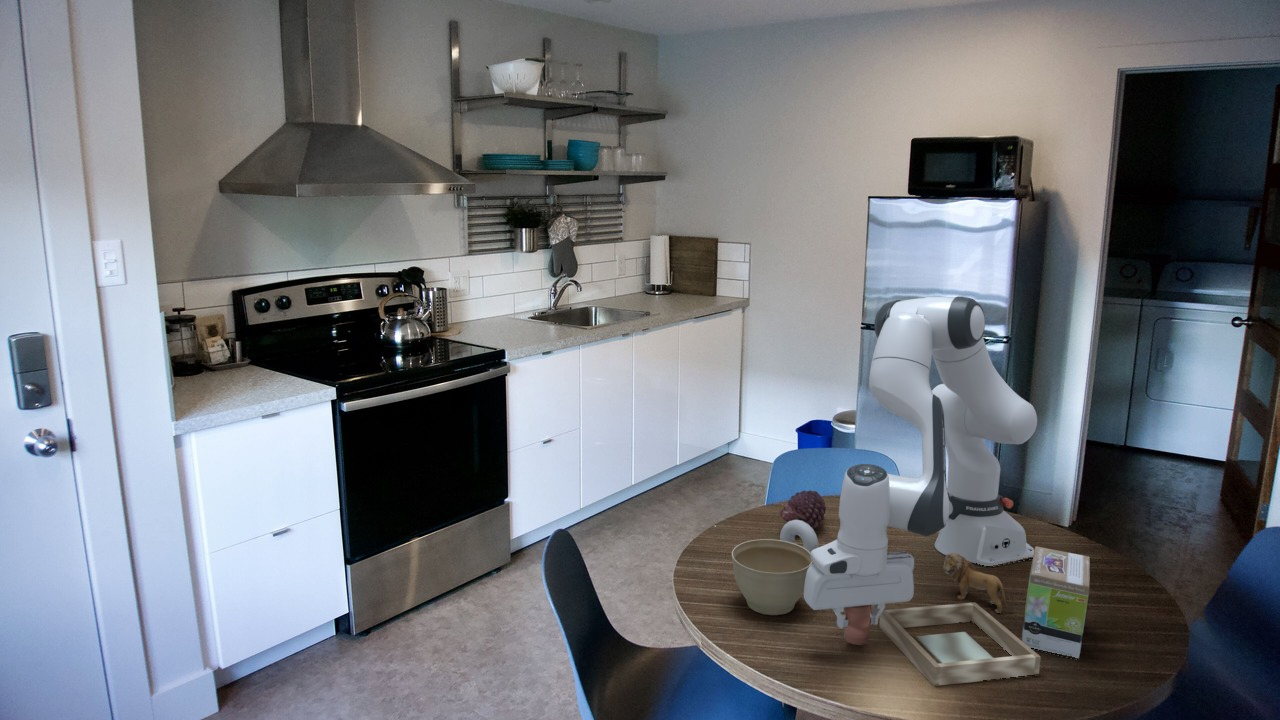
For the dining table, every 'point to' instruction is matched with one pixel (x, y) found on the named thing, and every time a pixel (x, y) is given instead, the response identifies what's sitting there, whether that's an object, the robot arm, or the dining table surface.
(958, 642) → the corral
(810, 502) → the pine cone
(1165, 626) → the dining table surface
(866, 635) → the reddish pink cylinder
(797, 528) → the donut
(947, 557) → the lion figurine
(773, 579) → the planter bowl
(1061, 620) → the tea box
